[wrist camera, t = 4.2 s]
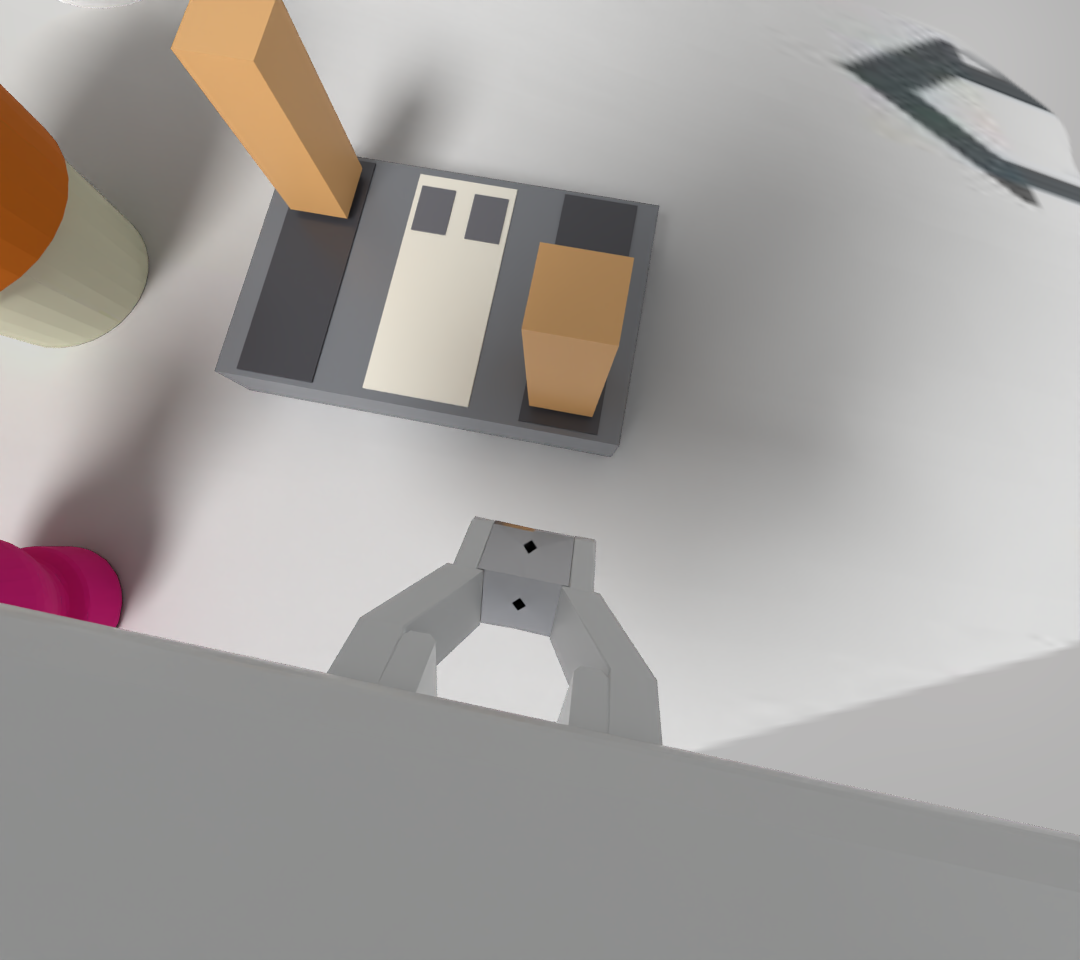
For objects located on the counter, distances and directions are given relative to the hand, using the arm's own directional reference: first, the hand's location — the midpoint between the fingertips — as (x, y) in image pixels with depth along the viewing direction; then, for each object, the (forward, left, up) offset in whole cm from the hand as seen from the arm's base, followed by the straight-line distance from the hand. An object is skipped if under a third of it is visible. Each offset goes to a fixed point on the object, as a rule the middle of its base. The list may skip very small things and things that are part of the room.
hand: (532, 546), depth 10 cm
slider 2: (-6, +5, -8) cm, 11 cm away
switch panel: (-13, +3, -11) cm, 18 cm away
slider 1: (-21, +1, -8) cm, 23 cm away
